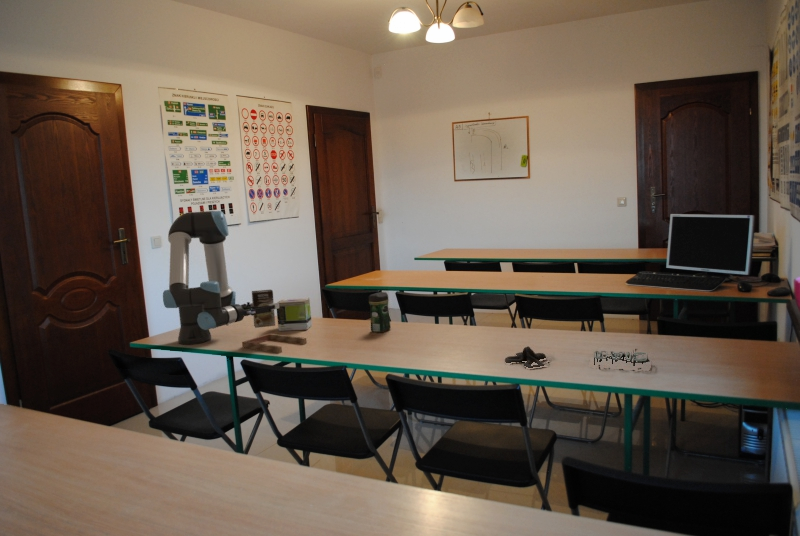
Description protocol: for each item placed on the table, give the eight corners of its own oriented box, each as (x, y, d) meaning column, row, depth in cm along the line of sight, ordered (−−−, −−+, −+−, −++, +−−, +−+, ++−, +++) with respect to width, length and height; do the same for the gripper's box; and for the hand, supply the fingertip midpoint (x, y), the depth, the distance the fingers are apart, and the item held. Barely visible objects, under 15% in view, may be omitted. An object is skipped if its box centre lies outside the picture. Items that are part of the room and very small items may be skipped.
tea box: (312, 325, 300) (310, 297, 299) (307, 330, 291) (304, 301, 289) (283, 326, 302) (281, 298, 300) (278, 331, 292) (275, 302, 290)
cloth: (540, 373, 205) (539, 356, 204) (494, 366, 217) (493, 350, 216) (566, 357, 222) (566, 342, 221) (522, 351, 234) (522, 336, 233)
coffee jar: (380, 327, 287) (378, 290, 285) (393, 329, 282) (390, 291, 280) (367, 332, 279) (365, 294, 277) (380, 333, 275) (378, 295, 272)
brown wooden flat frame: (242, 347, 264) (242, 342, 263) (270, 338, 278) (269, 333, 277) (279, 353, 250) (278, 347, 250) (306, 343, 264) (306, 338, 264)
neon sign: (650, 339, 225) (651, 361, 198) (650, 350, 225) (651, 373, 198) (593, 337, 233) (586, 357, 206) (593, 347, 234) (586, 369, 207)
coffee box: (255, 328, 261) (252, 293, 259) (254, 325, 267) (250, 291, 265) (275, 325, 264) (272, 290, 262) (274, 323, 270) (271, 288, 268)
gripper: (215, 320, 257) (253, 310, 275) (250, 324, 244) (288, 314, 262) (213, 304, 256) (252, 295, 274) (249, 307, 243) (287, 297, 261)
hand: (270, 304), depth 268 cm, fingers closed on coffee box, 10 cm apart
